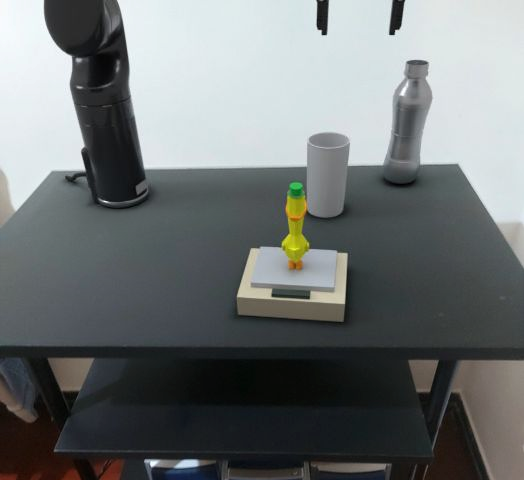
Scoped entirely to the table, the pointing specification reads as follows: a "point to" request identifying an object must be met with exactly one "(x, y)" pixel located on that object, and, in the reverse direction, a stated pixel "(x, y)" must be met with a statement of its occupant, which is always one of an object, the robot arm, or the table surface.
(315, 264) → the scale
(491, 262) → the table surface
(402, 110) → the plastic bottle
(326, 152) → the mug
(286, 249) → the toy figure
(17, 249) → the table surface
